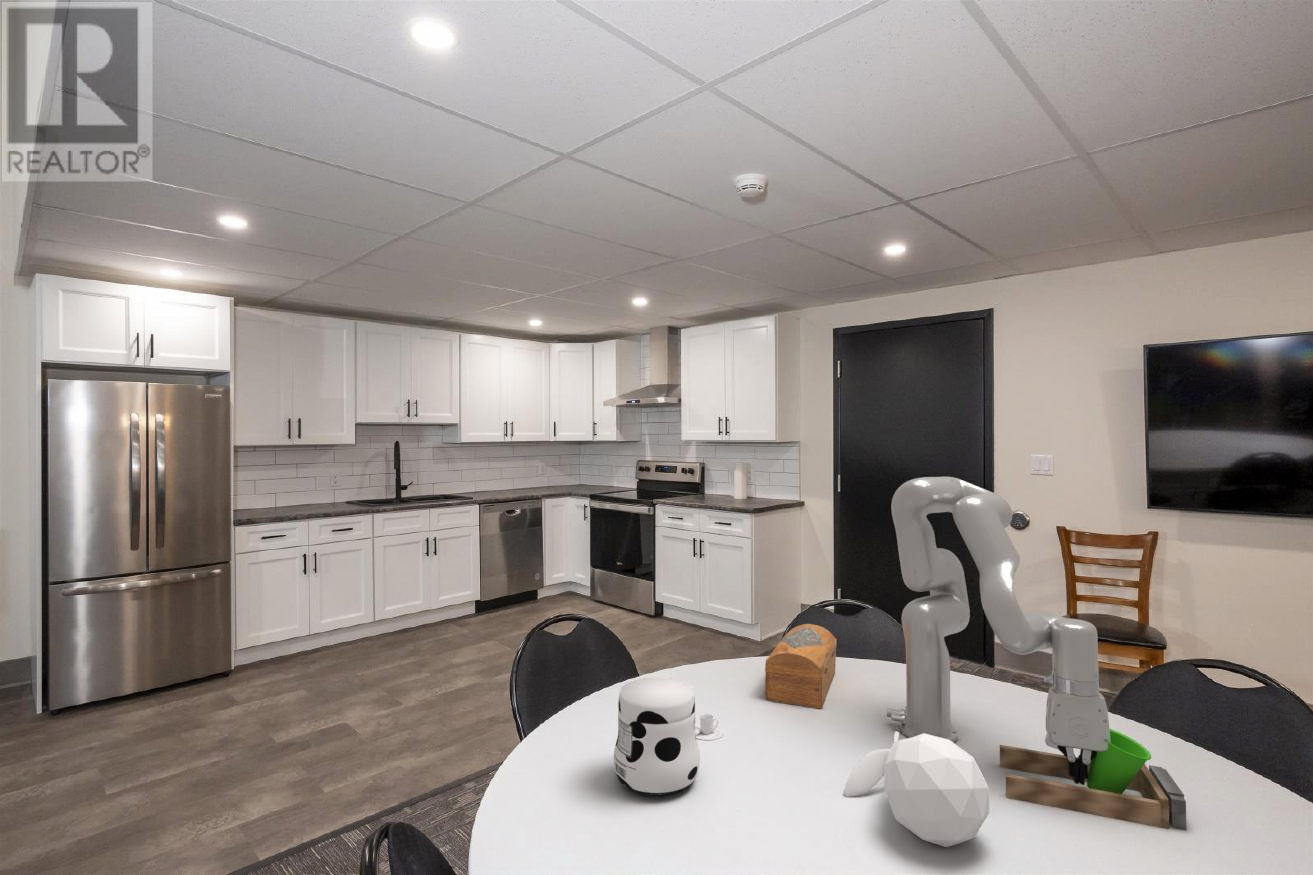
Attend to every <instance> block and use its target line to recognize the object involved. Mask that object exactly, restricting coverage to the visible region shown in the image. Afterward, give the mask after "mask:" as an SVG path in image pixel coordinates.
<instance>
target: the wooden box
mask: <svg viewBox="0 0 1313 875" xmlns="http://www.w3.org/2000/svg"><path fill="white" fill-rule="evenodd" d="M837 642H838V641H837V638H836V637H835V636H834V635H833V634H832V633H831V632H830V631H829V630H828V629H826V627H824V626H821V625H817V624H814V623H813V624H812V623H804V624H800V625H798V626H795V627H793V628H791V629H790V630H789V631H788V632H786V634H784V636H783V637H782V639H781V640H780V641H779V642H778V644H777V645H776V646H775V647H774V648H773V649H772V651H771V653H770V654H769V655H768V657H767V658H766V659H765V664H764V666H765V667H764V668H765V670H764V671H765V677H764V678H765V680H764V681H765V682H764V683H765V684H764V685H765V699H766V701H768V702H773V703H780V704H787V705H794V706H800V707H807V708H814V709H819V710H821V709H823V708H824V704H825V702H826V699H827V696H828V693H829V691H830V688H831V685H832V682H833V680H834V678H835V675H836V661H837V660H836V659H837V658H836V657H837Z"/></svg>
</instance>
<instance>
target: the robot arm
mask: <svg viewBox="0 0 1313 875" xmlns="http://www.w3.org/2000/svg"><path fill="white" fill-rule="evenodd" d="M890 507H891V516H892V521H893V524H894V525H893V526H894V529H895V534H896V541H897V543H896V544H897V550H898V556H899V562H900V570H901V575H902V576H901V577H902V580H903V583H904V585H905V586H906V587H907V588H908V589H909V590H911V591H914V592H917V593H919V592H921V593H922V592H929V594H930V595H928V596H927V595H926V596H922V597H919V598H918V597H917V598H915V599H913V600H911V601H910V602H908V603H907V604H906V605H905V606H904V608H903V609H902V613H901V626H902V629H903V630H902V631H903V635H904V642H905V643H904V644H905V664H906V666H905V667H906V669H905V671H906V673H905V674H906V678H905V679H906V681H905V682H906V684H905V685H906V687H905V688H906V690H905V691H906V692H905V693H906V705H905V708H904V709H901V708H900V710H897V709H893V708H890V707H889V708H888V707H887V708H886V717H887V718H891V721H893V722H900V723H899V731H900V732H901V733H902V734H903V735H904V736H906V738H912V737H915V736H918V735H920V734H923V733H925V734H929V735H932V736H936V737H940V738H944V739H948V740H950V741H952V742H953V743H955V742H957V741H958V740H959V739H958V738H959V733H958V730H957V729H956V728H955V727H954V726H952V723H951V722H952V720H951V718H952V717H951V660H950V654H949V650H948V647H947V645H946V641H945V637H948V636H950V635H954V634H957V633H960V632H962V631H963V630H965V629H966V628H967V626H968V624H969V622H970V618H971V615H970V613H971V610H970V604H969V598H968V597H969V596H968V591H967V590H968V589H967V585H966V584H967V583H966V578H965V577H966V576H965V571H964V567H963V565H962V563H961V560H959V557H958V556H956V554H955V553H954V552H952V551H951V550H948V549H946V548H943V547H942V548H940V547H939V548H938V547H937V544H936V537H935V530H934V529H933V528H934V527H933V526H932V524H931V522H930V521H929V520H928V518H927V515H930V514H934V513H935V514H941V513H952V516H953V521H954V523H955V525H956V528H957V529H958V531H959V533H960V535H961V538H962V539H963V541H964V543H965V545H966V547H967V549H968V551H969V553H970V555H971V557H972V559H973V561H974V563H975V565H976V567H977V570H978V572H979V593H980V594H979V595H980V600H981V601H980V602H981V605H982V609H983V611H984V615H985V617H986V619H987V621H988V623H989V625H990V627H991V629H992V630H993V632H994V635H995V636H996V638H997V639H998V641H999V642H1000V643H1001V645H1002V646H1003V647H1004V648H1005V649H1006V650H1008V651H1010V652H1012V653H1013V654H1017V655H1029V654H1032V653H1036V652H1039V651H1041V650H1049V649H1051V659H1052V661H1051V663H1052V671H1051V674H1050V675H1044V676H1043V677H1044V678H1043V679H1044V683H1046V684H1047V683H1048V684H1050V685H1051V686H1050V687H1049V688H1048V694H1047V699H1046V706H1045V709H1046V710H1045V711H1046V712H1045V731H1046V735H1045V737H1044V738H1045V740H1044V743H1045V745H1046V746H1047V747H1050V748H1053V749H1055V750H1058V751H1059V752H1060V753H1062V755H1065V756H1066V757H1067V758H1068V773H1069V776H1072V778H1073V779H1072V780H1073V782H1074V784H1076V785H1078V784H1080V785H1083V786H1085V784H1086V783H1085V782H1086V781H1084V779H1088V764H1089V763H1090V761H1091V760H1092V759H1094V758H1095V757H1096V755H1097V751H1098V752H1105V751H1107V750H1108V743H1107V742H1106V741H1104V740H1105V739H1106V740H1107V741H1108V742H1110V743H1111V740H1110V729H1111V728H1110V719H1109V714H1108V713H1109V712H1108V707H1107V703H1106V702H1107V701H1106V699H1105V697H1104V695H1103V694H1102V693H1100V685H1099V684H1100V683H1099V679H1100V674H1099V672H1100V671H1099V649H1098V648H1099V646H1098V645H1099V643H1098V640H1099V638H1098V631H1097V630H1098V629H1097V626H1095V625H1094V624H1093V623H1091V622H1089V621H1087V620H1082V619H1078V618H1071V617H1070V618H1068V617H1067V618H1066V617H1063V616H1060V615H1057V614H1054V613H1052V612H1049V611H1046V610H1042V609H1041V610H1039V609H1035V610H1029V611H1026V612H1024V611H1023V610H1022V608H1021V606H1020V604H1019V602H1018V600H1017V597H1016V594H1015V591H1014V590H1015V589H1014V580H1015V579H1014V578H1015V574H1016V572H1017V570H1018V567H1019V565H1020V562H1021V557H1020V554H1019V552H1018V550H1017V549H1016V547H1015V545H1014V544H1013V542H1012V540H1011V538H1010V536H1009V534H1008V532H1007V530H1006V528H1007V527H1009V526H1010V524H1011V522H1012V520H1013V509H1012V507H1011V505H1010V503H1009V502H1008V501H1007V500H1006V499H1005V498H1004V497H1002V496H1001V495H999V494H997V493H995V492H992V491H990V490H987V489H986V488H982V487H980V486H978V485H975V484H973V483H970V482H968V481H966V480H962V479H960V478H957V477H954V476H923V477H917V478H913V479H910V480H906V481H905V482H903V483H902V484H901V485H900V486H899V487H898V488H897V489H896V490H895V492H894V494H893V496H892V498H891V506H890ZM1074 749H1078V750H1080V751H1079V755H1078V756H1077V757H1078V758H1076V755H1075V750H1074Z"/></svg>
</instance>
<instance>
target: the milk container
mask: <svg viewBox="0 0 1313 875" xmlns="http://www.w3.org/2000/svg"><path fill="white" fill-rule="evenodd" d="M694 691H695V690H694V688H693V687H692V686H691V685H690V683H688V682H687V683H686V682H685V681H682V680H679V679H675V678H671V677H645V678H639V679H635V680H631V681H629V682H626V683H625V684H624V685H622V686H621V687H620V691H619V695H618V705H617V708H618V712H617V716H618V717H617V718H618V720H617V722H618V726H617V727H618V732H617V738H616V743H615V745H614V750H613V766H614V770H615V775H616V777H617V779H618V780H619V782H620V784H622V785H623V786H624V787H626V788H628V789H629V790H630V791H633V792H636V793H639V794H641V795H649V796H663V795H665V796H666V795H671V794H674V793H678V792H681V791H683V790H684V789H686V788H688V787H689V786H691V785H692V784H693V783H694V782H695V780H696V778H697V777H698V773H699V768H700V763H701V762H700V761H701V760H700V759H701V756H700V749H699V748H700V747H699V744H698V741H697V740H698V739H697V738H696V735H695V726H696V710H695V709H696V698H695V692H694Z"/></svg>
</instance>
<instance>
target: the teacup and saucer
mask: <svg viewBox="0 0 1313 875" xmlns="http://www.w3.org/2000/svg"><path fill="white" fill-rule="evenodd" d="M699 720H700V721H699V722H700V724H699V725H695V735H696V740H701V741H702V740H703V741H714V740H718V739H720V738H722V737H723V736H724V733H725V732H724V730H723V729H722V728H720V727H718V725H719V720H718V718H717V717H716V718H715V717H714V715H712V714H709V713H708V714H707V713H706V714H705V713H704V714H701V715H700V716H699ZM714 721H717V722H716V724H715V725H714ZM714 731H716V732H717V735H716V736H712V737H704V736H703V737H702V736H699V734H700V733H702V734H703V735H711V734H712V733H713V732H714Z"/></svg>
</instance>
